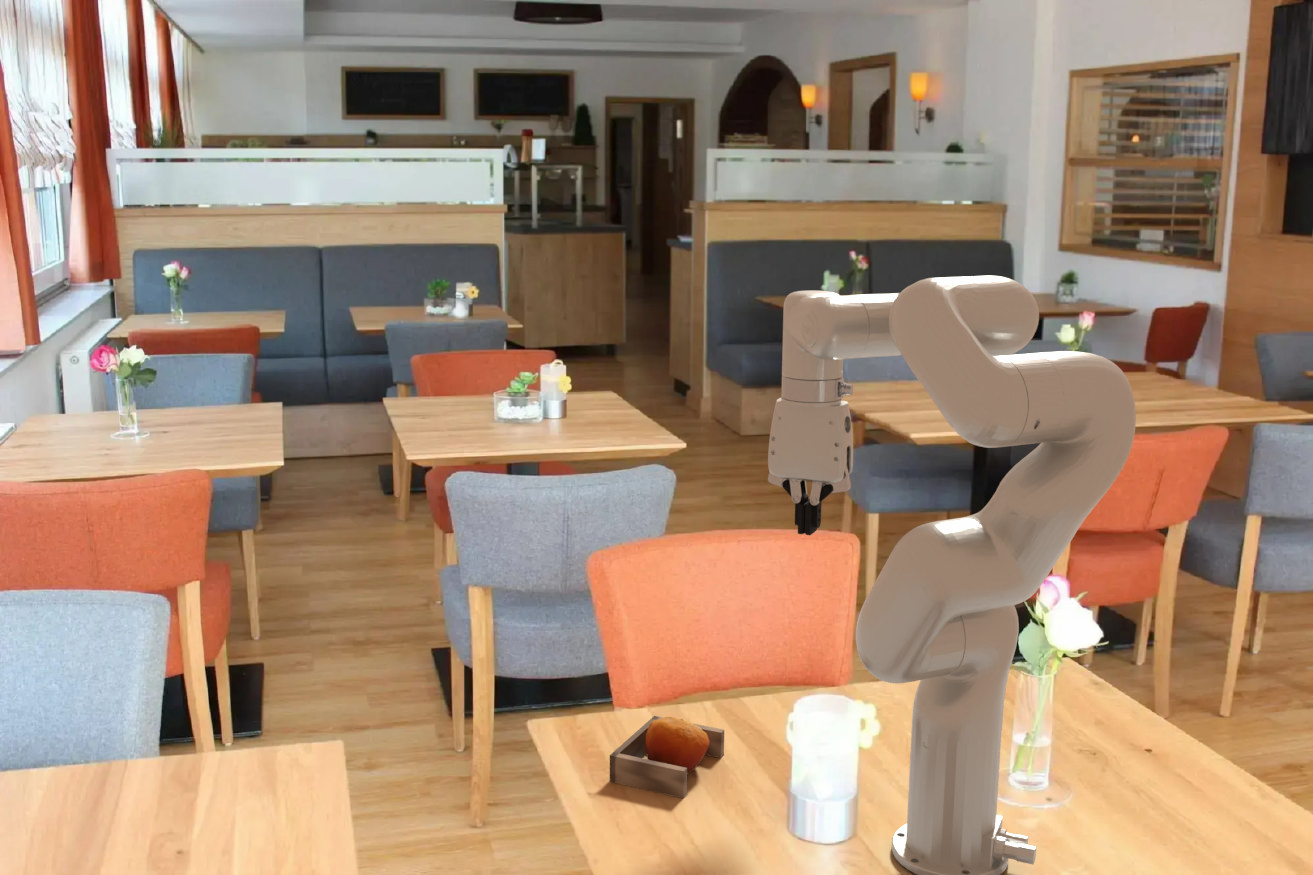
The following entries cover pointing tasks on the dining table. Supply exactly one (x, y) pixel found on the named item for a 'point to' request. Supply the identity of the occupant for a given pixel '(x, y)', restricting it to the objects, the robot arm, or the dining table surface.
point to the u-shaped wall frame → (656, 763)
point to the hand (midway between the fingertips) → (807, 531)
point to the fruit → (676, 742)
